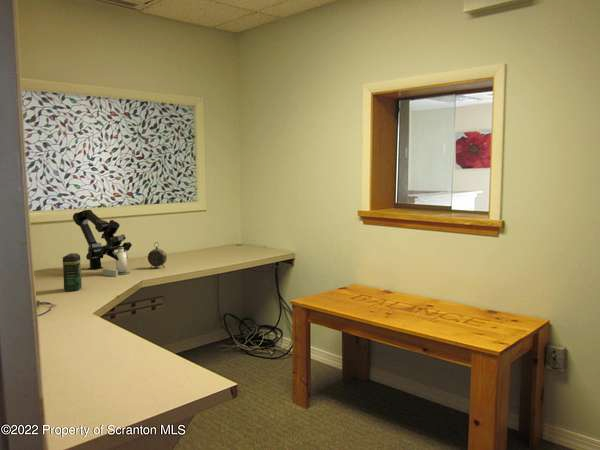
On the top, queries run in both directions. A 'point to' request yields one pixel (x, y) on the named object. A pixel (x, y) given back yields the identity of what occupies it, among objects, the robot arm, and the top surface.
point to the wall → (110, 272)
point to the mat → (123, 273)
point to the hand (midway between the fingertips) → (122, 259)
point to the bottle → (121, 260)
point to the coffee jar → (72, 272)
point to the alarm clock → (157, 257)
